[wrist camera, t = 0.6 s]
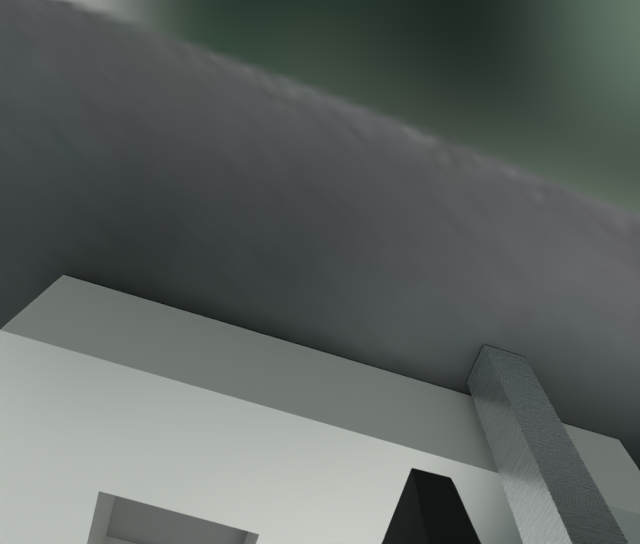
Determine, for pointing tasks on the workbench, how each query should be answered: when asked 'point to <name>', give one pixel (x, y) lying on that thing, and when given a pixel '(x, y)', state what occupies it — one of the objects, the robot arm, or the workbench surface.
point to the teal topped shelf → (537, 456)
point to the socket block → (231, 434)
